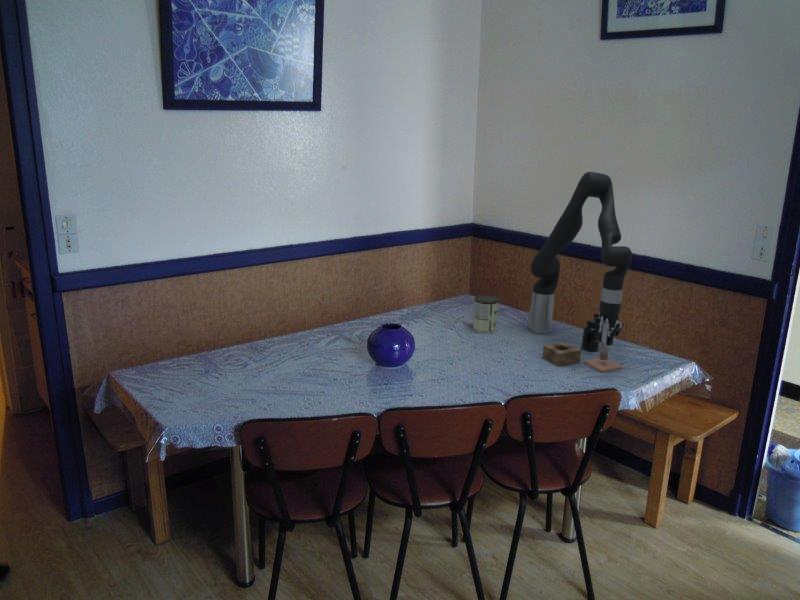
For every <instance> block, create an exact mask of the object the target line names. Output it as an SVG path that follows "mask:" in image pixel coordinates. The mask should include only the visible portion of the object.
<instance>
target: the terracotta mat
mask: <svg viewBox="0 0 800 600" xmlns="http://www.w3.org/2000/svg"><path fill="white" fill-rule="evenodd" d="M583 364H584V365H586V366H588V367H590V368H591V369H594V370H595V371H598V372H599V373H601V374H602V373H603V374H604V373H608V372H612V371H618V370H622V369H623V366H622V365H620V364H618V363H617V362H614V361H612V360H611V359H609V358H608V360H600V359H599V357H598V358H592V359H591V358H590V359H586V360H583Z"/></svg>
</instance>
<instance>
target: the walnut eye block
mask: <svg viewBox="0 0 800 600" xmlns="http://www.w3.org/2000/svg"><path fill="white" fill-rule="evenodd" d="M542 345H543V344H542ZM581 353H582V350H581V349H579V348H577V347H576V346H573V345H571V344H569V343H567V342H565V341H561V342H555V343H550V344H544V345H543V347H542V359H544V360H547V361H548V362H550V363H551V364H553V365H555V366H557V367H564V366H565V367H566V366H569V365H574V364H579V363H580V362H581V357H582V355H581Z"/></svg>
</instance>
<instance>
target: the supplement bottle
mask: <svg viewBox="0 0 800 600" xmlns="http://www.w3.org/2000/svg"><path fill="white" fill-rule="evenodd" d="M586 321H587V322H586V325H585V326H584V327H583V332H582V340H581V349H582V350H584V351H586V352H594V353H595V352H598V351H599V350H600V344H601V342H599V333H600V332H599V330H598V329H596V326H595V320H594V318H588V319H587V320H586ZM598 325H599V323H598Z"/></svg>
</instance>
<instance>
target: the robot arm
mask: <svg viewBox="0 0 800 600" xmlns="http://www.w3.org/2000/svg"><path fill="white" fill-rule="evenodd" d="M589 197H590V198H597V199H599V202H600V203H601V211H600V213H599V216H598V219H597V228H598V232H599V236H600V239H601V254H600V255H601V256H600V260H601V261H602V263H603V264H604V265H605V266H607V267H614V266H615V267H614V269H612V270H608V271H606V272H605V273H604V275H603V282H602V288H601V292H600V300H599V307H598V311H599V312H598V313H594V314H593V319H594V320H595V326H596V329H598V330H599V332H600V333H599V342H600V343H601V338H602V330H603V323H604V321H606V325H607V330H608V336H607V342H606V345H607V346H609V347H611V346H612V345H614V338H615V337H617V336H620V333H621V331H622V330H623V327H624V326H625V325H624V324H625V323H624V322H621V321H620V319H619V314H621V309H622V300H623V288H624V280H625V277H626V276H627V271H629V267H630V265H631V263H632V259H633V253H632V250H631V248H629V247H628V246H625V245H624V246H623V245H621V246H616V244H619V242H620V241H621V239H622V234H621V230H620V227H619V222H618V220H617V214H616V208H615V195H614V187H613V181H612V178H611V177H610V176H609V175H608V174H605V173H600V172H595V171H587V172H585V173H584V174H583V175H582V176H581V178H580V180H579V181H578V183H577V186H576V187H575V190H574V192H573V194H572V196H571V197H570V200H569V202H568V204H567V205H566V207H565V209H564V211H563V213H562V214H561V216H560V217H559V218H558V220H557V222H556V224H555V226H554V228H553V229H552V231H551V233H550V234H549V236H548V237H547V239H546V240H545V242H544V244H543V246H542V247H541V248H540V249H539V251H537V253H536V255H535V256H534V258H533V259H532V261H531V264H530V272H531V274H532V275H533V276H534V277H535V278H539V279H538V280H537V281H536V282H535V283H534V284H533V286H532V293H531V306H530V307H529V312H528V322H527V323H528V325H527V329H529V331H530V332H532V333H535V334H536V333H537V334H549V333H551V331H552V323H553V314H554V302H555V293H556V289H557V287H558V283H559V277H560V272H561V271H560V270H561V265H560V264H561V263H560V260H559V258H558V256H557V255H558V254H560V252H562V251H563V250H564V249H565V248H567V247H568V246H569V245H570V244H571V243H572V242H573V241H574V240H575V239H576V237H577V236H578V234H579V232H580V231H581V229H582V227H583V223H584V221H583V207H584V205H585V203H586V201H587V200H588V198H589ZM613 245H615V246H613ZM598 323H599V325H598ZM610 327H612V328H610ZM611 330H612V331H611Z"/></svg>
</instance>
